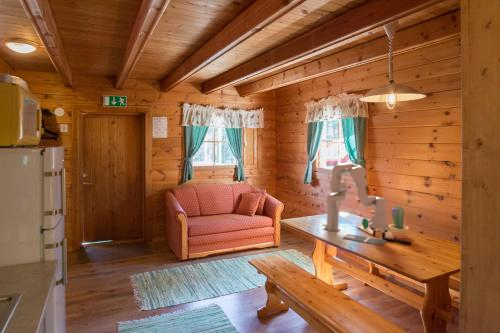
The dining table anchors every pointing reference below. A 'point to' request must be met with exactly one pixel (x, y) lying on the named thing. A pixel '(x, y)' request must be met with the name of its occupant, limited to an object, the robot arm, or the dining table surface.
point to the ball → (379, 233)
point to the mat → (364, 239)
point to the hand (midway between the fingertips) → (379, 236)
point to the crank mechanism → (366, 226)
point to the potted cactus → (398, 223)
